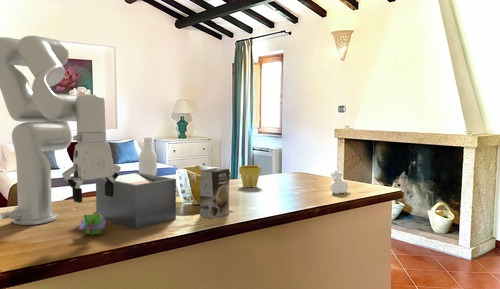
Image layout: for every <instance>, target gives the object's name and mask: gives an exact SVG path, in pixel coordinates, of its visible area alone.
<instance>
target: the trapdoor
mask: <svg viewBox="0 0 500 289" xmlns="http://www.w3.org/2000/svg"><path fill="white" fill-rule="evenodd" d="M115 181H120V182H125V183H130V184H135V185H138V184H144V183H150V182H152V181H150V180H148V179H146V178H144V177H142V176H140V175H138V174H136V173H135V172H133V173H128V174H127V173H126V174H122V175H118V177H117V178H116V180H115Z"/></svg>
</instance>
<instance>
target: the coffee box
mask: <svg viewBox="0 0 500 289" xmlns="http://www.w3.org/2000/svg"><path fill="white" fill-rule="evenodd" d="M230 171H231V170H230V169H229V168H223V167H222V168H220V167H219V168H218V167H214V168H209V169H208V168H207V169H201V170H200V181H199V182H200V187H199V189H200V191H199V192H200V193H199V195H200V196H199V217H202V218H207V219H211V220H215V219H218V218H221V217H224V216H227V215H229V214H230Z"/></svg>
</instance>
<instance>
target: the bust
mask: <svg viewBox="0 0 500 289" xmlns="http://www.w3.org/2000/svg"><path fill="white" fill-rule="evenodd" d="M330 176H331V178H332V179H333V180H332V181H331V182H330V183H329V187H330V192H332V193H333V192H334V193H333V194H335V195H340V194H339V193H344V194H346V193H347V192H348V191H349V190H348V189H349V184H348V182H347V181H346V180H344V179H342V176H343V173H342V172H341V171H339V170H332V171H331V173H330ZM345 192H346V193H345Z"/></svg>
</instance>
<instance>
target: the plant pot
mask: <svg viewBox="0 0 500 289" xmlns="http://www.w3.org/2000/svg"><path fill="white" fill-rule="evenodd" d="M238 168H239V169H238V170H239V171H238V172H239V175H240V178H241V181H242V187H243V186H244V187H243V188H246V187H254V186H258V181H259V177H260V175H261V171H262V170H261V166H260V165H252V164H251V165H249V164H247V165H246V164H245V165H239V167H238ZM254 188H255V187H254Z"/></svg>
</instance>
